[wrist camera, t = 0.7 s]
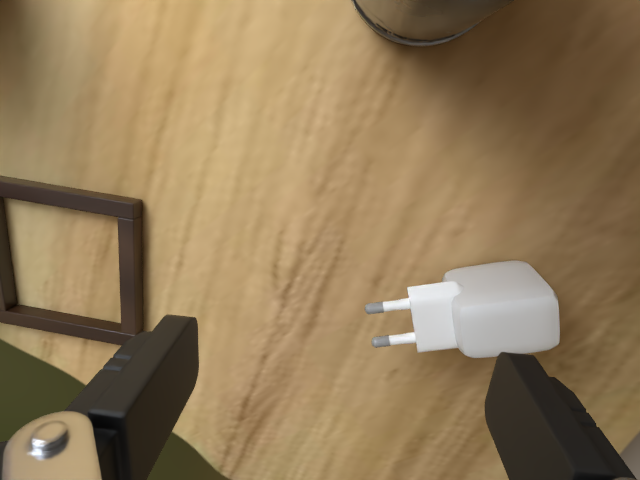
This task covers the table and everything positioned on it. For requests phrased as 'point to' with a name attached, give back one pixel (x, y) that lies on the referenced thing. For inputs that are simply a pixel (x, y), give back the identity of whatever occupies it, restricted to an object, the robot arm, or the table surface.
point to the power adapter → (479, 312)
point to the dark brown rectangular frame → (129, 211)
